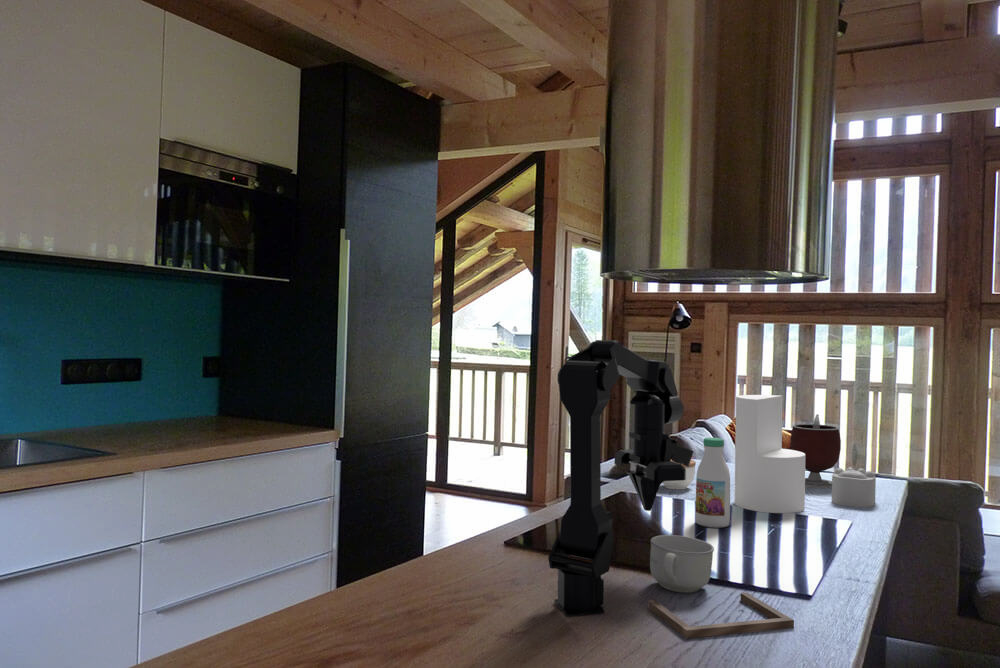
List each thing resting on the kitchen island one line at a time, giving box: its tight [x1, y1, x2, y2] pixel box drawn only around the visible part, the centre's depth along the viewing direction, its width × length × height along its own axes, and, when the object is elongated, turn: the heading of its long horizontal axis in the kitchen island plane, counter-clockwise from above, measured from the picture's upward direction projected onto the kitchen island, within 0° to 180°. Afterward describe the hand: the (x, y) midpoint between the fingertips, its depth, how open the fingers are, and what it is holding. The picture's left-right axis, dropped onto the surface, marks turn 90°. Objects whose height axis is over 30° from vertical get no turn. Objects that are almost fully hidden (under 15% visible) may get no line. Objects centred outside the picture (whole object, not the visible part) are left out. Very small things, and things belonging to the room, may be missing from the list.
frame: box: [647, 592, 795, 639], centre depth 122 cm, size 18×13×1 cm
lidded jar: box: [661, 459, 696, 491], centre depth 225 cm, size 11×11×9 cm
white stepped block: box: [733, 394, 806, 514], centre depth 203 cm, size 17×17×28 cm
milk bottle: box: [695, 437, 731, 529], centre depth 182 cm, size 8×8×20 cm
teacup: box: [649, 534, 715, 594], centre depth 136 cm, size 14×11×8 cm
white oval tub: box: [831, 466, 877, 508], centre depth 209 cm, size 10×13×9 cm
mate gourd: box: [790, 414, 842, 489], centre depth 233 cm, size 16×14×20 cm
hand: (647, 510), depth 147 cm, fingers closed
